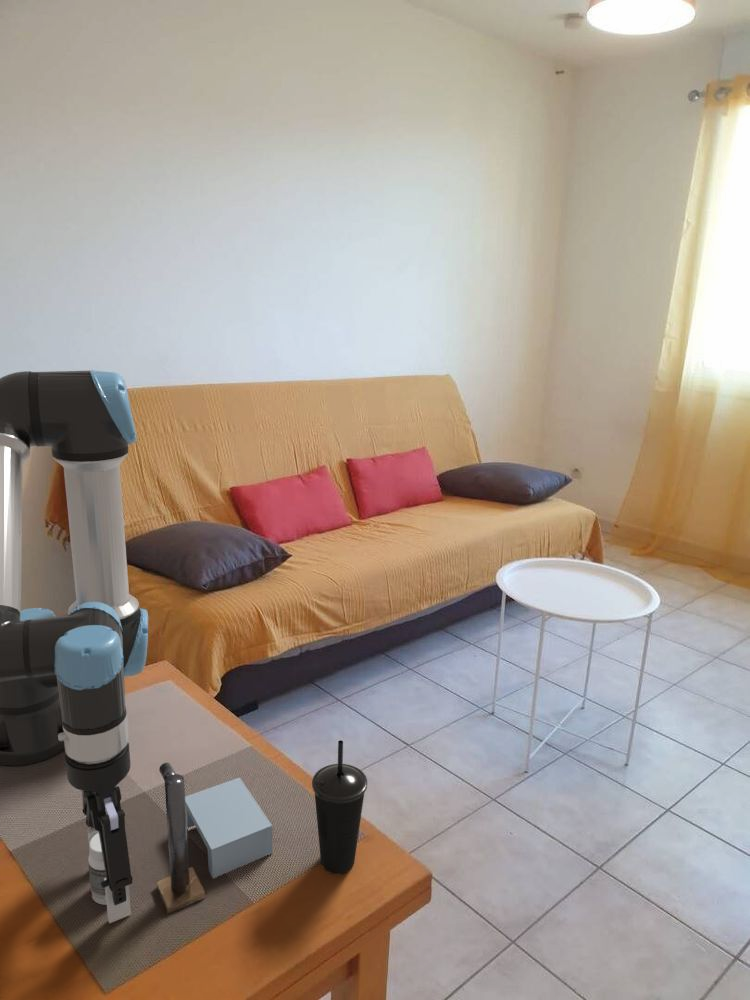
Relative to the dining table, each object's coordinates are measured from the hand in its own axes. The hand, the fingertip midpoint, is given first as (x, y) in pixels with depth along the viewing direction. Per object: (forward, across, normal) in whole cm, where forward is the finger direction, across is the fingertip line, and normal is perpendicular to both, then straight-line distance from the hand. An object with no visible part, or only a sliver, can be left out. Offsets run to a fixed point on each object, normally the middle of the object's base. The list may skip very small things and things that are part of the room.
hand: (110, 890), depth 97 cm
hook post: (0, +5, +8) cm, 9 cm away
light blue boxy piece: (0, -1, +17) cm, 17 cm away
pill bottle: (0, 0, 0) cm, 0 cm away
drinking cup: (0, +11, +29) cm, 31 cm away
